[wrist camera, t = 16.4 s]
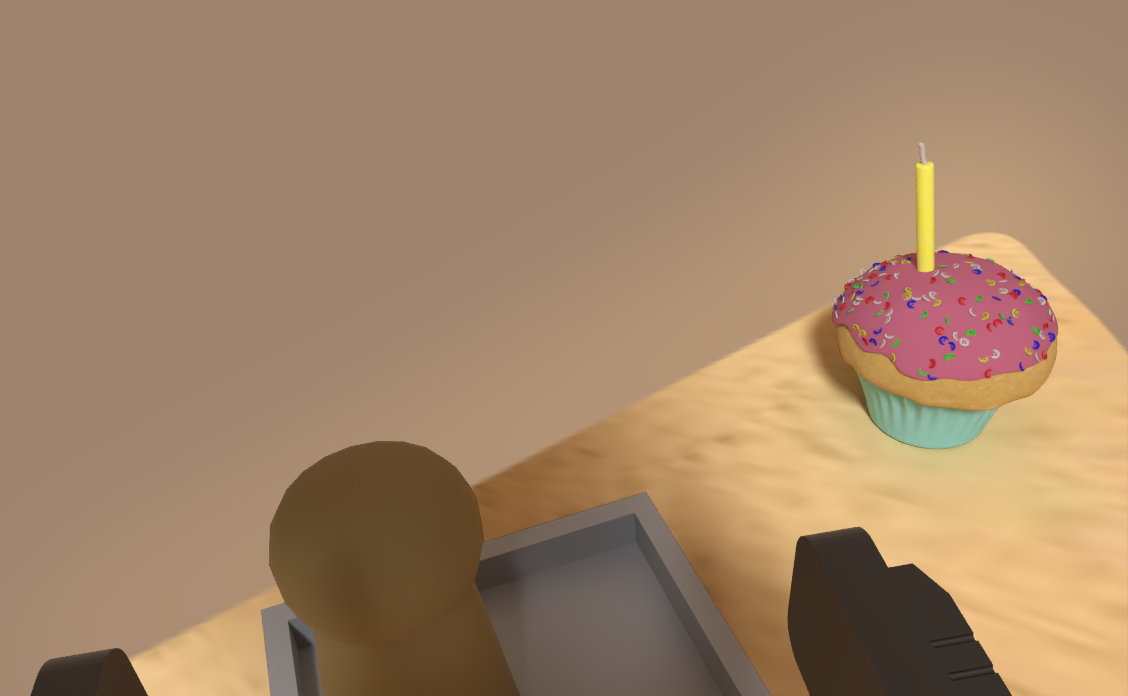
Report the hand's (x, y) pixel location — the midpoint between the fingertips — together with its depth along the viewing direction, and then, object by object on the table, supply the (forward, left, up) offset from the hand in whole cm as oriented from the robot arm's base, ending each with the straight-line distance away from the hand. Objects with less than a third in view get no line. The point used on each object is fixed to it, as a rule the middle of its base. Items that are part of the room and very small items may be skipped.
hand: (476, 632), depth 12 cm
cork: (-1, +10, -17) cm, 20 cm away
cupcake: (+23, +18, -18) cm, 35 cm away
